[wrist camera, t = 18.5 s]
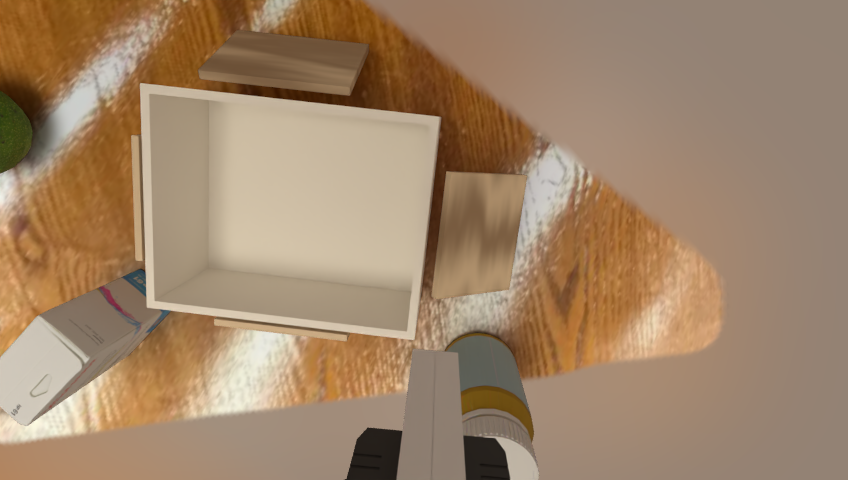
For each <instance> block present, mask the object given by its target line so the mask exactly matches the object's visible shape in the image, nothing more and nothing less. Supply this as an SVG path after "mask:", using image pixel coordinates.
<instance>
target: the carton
mask: <svg viewBox="0 0 848 480" xmlns="http://www.w3.org/2000/svg"><path fill="white" fill-rule="evenodd" d="M140 100H141V133H142V135H131V143H132V172H133V200H134V228H135V256H136V261H144V260H145V265H146V297H147V308H154V309H162V310H170V311H178V312H187V313H195V314H203V315H211V316H217V317H216V318H215V319H214V325H217V326H225V327H233V328H241V329H249V330H258V331H266V332H274V333H282V334H290V335H298V336H307V337H315V338H323V339H331V340H339V341H347V339H348V337H349V335H350V333H359V334H367V335H376V336H384V337H392V338H400V339H408V340H414V339H415V332H416V326H417V319H418V313H419V306H420V300H421V292H422V283H423V275H424V266H425V257H426V248H427V239H428V231H429V222H430V213H431V204H432V196H433V187H434V178H435V169H436V161H437V152H438V143H439V134H440V125H441V117H438V116H429V115H420V114H411V113H402V112H393V111H384V110H375V109H366V108H357V107H349V106H340V105H331V104H322V103H313V102H304V101H295V100H286V99H277V98H268V97H259V96H251V95H242V94H233V93H224V92H215V91H206V90H197V89H188V88H179V87H170V86H161V85H153V84H144V83H140Z"/></svg>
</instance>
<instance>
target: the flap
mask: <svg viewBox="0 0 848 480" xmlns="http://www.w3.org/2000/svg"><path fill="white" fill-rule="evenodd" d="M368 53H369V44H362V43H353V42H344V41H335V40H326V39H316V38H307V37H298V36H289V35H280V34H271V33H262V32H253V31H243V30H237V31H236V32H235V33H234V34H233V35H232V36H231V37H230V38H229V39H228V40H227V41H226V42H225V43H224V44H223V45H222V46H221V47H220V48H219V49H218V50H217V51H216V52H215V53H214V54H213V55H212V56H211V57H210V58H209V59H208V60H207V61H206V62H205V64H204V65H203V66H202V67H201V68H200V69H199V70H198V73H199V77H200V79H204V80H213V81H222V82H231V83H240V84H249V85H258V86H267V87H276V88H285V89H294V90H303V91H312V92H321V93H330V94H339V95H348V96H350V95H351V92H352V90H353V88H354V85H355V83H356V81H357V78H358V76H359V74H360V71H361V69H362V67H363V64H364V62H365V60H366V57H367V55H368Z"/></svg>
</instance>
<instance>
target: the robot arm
mask: <svg viewBox="0 0 848 480" xmlns="http://www.w3.org/2000/svg"><path fill="white" fill-rule="evenodd" d="M345 480H510V474H509V469H508V463H507V457H506V452H505V450H504V449H503V448H502V446H501V445H500V444H499V442H498V441H497V440H496V438H488V437H477V436H466V435H463V425H462V409H461V393H460V377H459V361H458V353H455V352H444V351H433V350H422V349H413V352H412V360H411V368H410V376H409V384H408V392H407V400H406V408H405V416H404V423H403V431H397V430H387V429H377V428H367V429H366V430H365V431H364V432H363V433H362V434H361V436H360V437H359V438H358V439H357V441H356V445H355V449H354V453H353V457H352V461H351V464H350V468H349V472H348V476H347V479H345Z"/></svg>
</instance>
